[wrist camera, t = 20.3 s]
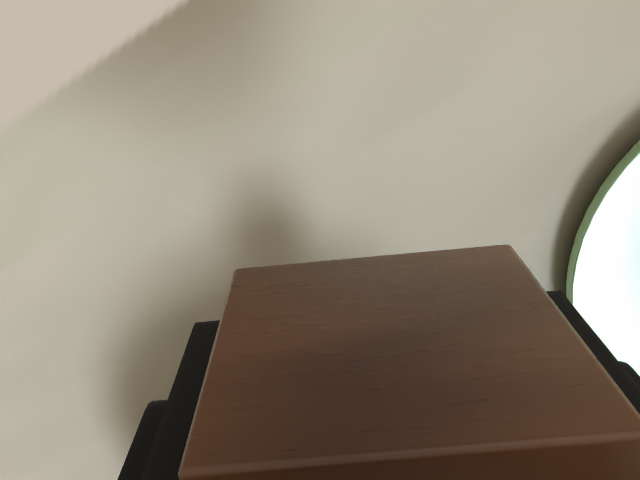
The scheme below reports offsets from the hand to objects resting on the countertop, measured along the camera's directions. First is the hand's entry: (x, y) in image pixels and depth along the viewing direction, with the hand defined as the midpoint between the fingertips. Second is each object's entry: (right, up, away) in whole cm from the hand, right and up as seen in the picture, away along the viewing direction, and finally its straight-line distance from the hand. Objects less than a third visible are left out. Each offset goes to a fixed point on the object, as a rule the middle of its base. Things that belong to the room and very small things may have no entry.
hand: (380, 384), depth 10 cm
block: (0, 0, 0) cm, 0 cm away
